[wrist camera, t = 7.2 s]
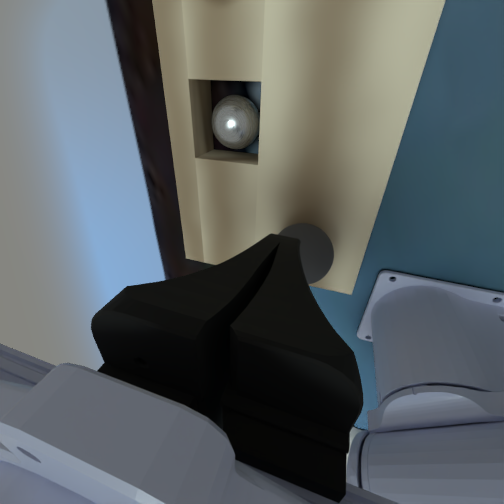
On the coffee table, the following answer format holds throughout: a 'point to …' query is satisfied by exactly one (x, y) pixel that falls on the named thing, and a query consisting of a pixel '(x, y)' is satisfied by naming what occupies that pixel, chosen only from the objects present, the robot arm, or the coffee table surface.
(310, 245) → the black rubber ball
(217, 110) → the steel ball
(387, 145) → the cream knobbed board
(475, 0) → the coffee table surface
